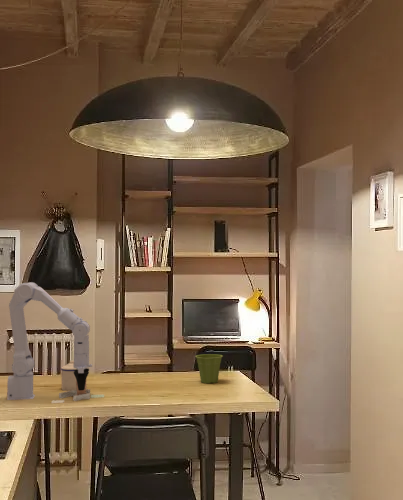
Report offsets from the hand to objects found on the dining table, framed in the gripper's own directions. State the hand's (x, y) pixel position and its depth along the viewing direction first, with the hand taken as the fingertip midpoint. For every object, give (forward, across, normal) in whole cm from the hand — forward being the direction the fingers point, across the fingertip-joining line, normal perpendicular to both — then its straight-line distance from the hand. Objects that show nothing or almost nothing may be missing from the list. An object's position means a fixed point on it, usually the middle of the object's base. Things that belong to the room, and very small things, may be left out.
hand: (81, 389), depth 246 cm
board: (+3, -2, +1) cm, 4 cm away
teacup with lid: (+4, +20, +4) cm, 20 cm away
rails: (+3, -1, +3) cm, 4 cm away
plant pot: (+4, +24, -53) cm, 58 cm away
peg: (+2, 0, 0) cm, 2 cm away
